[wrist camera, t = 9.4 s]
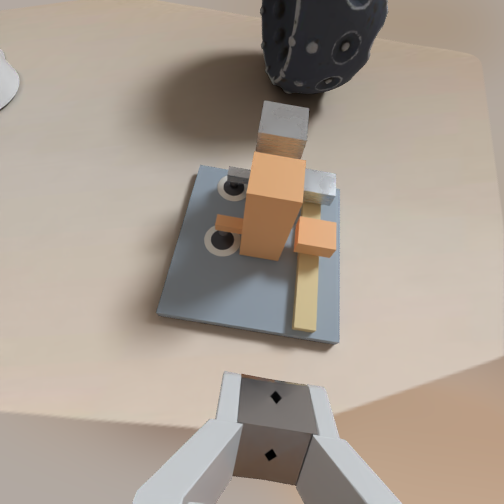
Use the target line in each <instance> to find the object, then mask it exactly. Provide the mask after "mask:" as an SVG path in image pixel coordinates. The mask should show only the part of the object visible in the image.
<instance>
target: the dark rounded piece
mask: <svg viewBox="0 0 504 504" xmlns="http://www.w3.org/2000/svg"><path fill="white" fill-rule="evenodd" d="M387 2H388V1H387V0H262V7H261V9H260V14H261V15H262V40H263V42H262V44H261V48H262V49H263V53H264V60H265V65H266V70H265V72H266V73H267V74H268V75H269V78H270V79H271V81H272V83H273V85H278V86H279V87H281V88H282V89H283V90H284V92H286V93H288V94H290V93H293V92H295V93H302V94H313V93H322V92H326V91H329V90H333V89H335V88H337V87H339V86H341V85H343V84H345V83H346V82H348V81H350V80H351V79H352V77H353V76H354V75H355V74H356V73H357V72H358V71H359V70H360V69H361V68H362V67H363V66H364V65H365V64H366V62H367V61H368V59H369V57H370V50H371V47H372V44H373V42H374V39H375V38H376V36H377V34H378V32H379V31H380V30H381V28H382V27H383V25H384V22H385V19H386V17H387V14H388V6H387Z"/></svg>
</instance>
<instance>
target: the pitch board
mask: <svg viewBox="0 0 504 504" xmlns="http://www.w3.org/2000/svg"><path fill="white" fill-rule="evenodd" d="M227 174H228V170H226V169H220V168H215V167H209V166H203V165H200V168H199V171H198V174H197V178H196V181H195V184H194V188H193V191H192V194H191V198H190V201H189V204H188V208H187V211H186V214H185V218H184V221H183V224H182V228H181V231H180V234H179V238H178V241H177V245H176V248H175V251H174V255H173V258H172V261H171V265H170V268H169V271H168V275H167V278H166V281H165V285H164V288H163V291H162V295H161V298H160V301H159V305H158V308H157V311H156V313H157V314H158V315H159V316H164V317H170V318H176V319H182V320H188V321H194V322H200V323H206V324H212V325H218V326H225V327H231V328H237V329H243V330H249V331H255V332H261V333H267V334H273V335H280V336H286V337H292V338H298V339H304V340H310V341H316V342H322V343H328V344H337V343H339V301H340V189H336V196H335V198H334V200H333V201H332V203H331V205H330V206H327V205H321V204H315V203H309V202H304V201H303V204H302V206H301V208H300V211H299V213H298V215H297V218H296V220H295V222H294V225H293V227H292V229H291V232H290V234H289V237H288V239H287V241H286V244H285V246H284V248H283V251H282V253H281V255H280V258H279V260H278V261H275V260H269V259H263V258H257V257H251V256H245V255H239V253H240V244H241V236H242V234H237V233H231V232H228V234H227V235H226V236H221V235H220V234H219V230H215V223H216V218H217V214H220V215H226V216H231V217H237V218H243V219H244V210H245V202H246V193H247V188H248V185H247V184H242V183H239V184H238V187H237V188H231V187H230V181H227ZM300 216H302V217H307V218H313V219H319V220H325V221H331V222H336V223H337V227H336V251H335V252H334V253H333V255H332V256H331V257H330V258H327V257H321V256H315V255H309V254H303V253H297V252H294V240H295V229H296V224H297V222H298V220H299V217H300Z"/></svg>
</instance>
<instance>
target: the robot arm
mask: <svg viewBox="0 0 504 504" xmlns="http://www.w3.org/2000/svg"><path fill="white" fill-rule="evenodd" d="M18 87H19V76H18V74H17V72H16V70H15V69H14V68H13V67H12V66H11V65H10V64H9V63H8V62H7V61H6V60H5V56H4V52H3V51H2V50H1V48H0V109H1V108H2V107H4V106H5V105H6V104H7V103H8V102H9V101H10V100H11V99H12V98H13V97H14V95H15V94H16V92H17V90H18ZM232 476H236V477H245V478H253V479H262V480H268V481H273V482H279V483H284V484H290V485H295V486H296V489H297V491H298V492H299V494H300V496H301V498H302V500H303V502H304V504H402V503H401V502H400V501H399V499H398V498H397V497H396V496H395V495H394V494H393V493H392V492H391V491H390V489H389V488H388V487H387V486H386V485H385V484H384V483H383V482H382V481H381V479H380V478H379V477H378V476H377V475H376V474H375V472H374V471H373V470H372V469H371V468H370V467H369V466H368V465H367V464H366V462H365V461H364V460H363V459H362V458H361V457H360V456H359V455H358V454H357V452H356V451H355V450H354V449H353V448H352V447H351V446H350V444H349V443H348V442H347V441H346V440H343V439H340V438H339V434H338V431H337V427H336V423H335V420H334V416H333V413H332V409H331V406H330V402H329V399H328V395H327V392H326V389H325V388H324V387H321V386H314V385H305V384H298V383H292V382H285V381H278V380H272V379H266V378H261V377H255V376H250V375H245V374H237V373H232V372H227V371H224V374H223V378H222V384H221V390H220V395H219V401H218V407H217V412H216V418H215V419H209V420H208V421H207V422H206V423H205V424H204V425H203V426H202V427H201V428H200V429H199V430H198V431H197V432H196V433H195V434H194V435H193V436H192V437H191V438H190V439H189V440H188V441H187V442H186V443H185V444H184V445H183V446H182V447H181V448H180V449H179V450H178V451H177V452H176V453H175V454H174V455H173V456H172V457H171V458H170V459H169V460H168V461H167V462H166V463H165V464H164V465H163V466H162V467H161V468H160V469H159V470H158V471H157V472H156V473H155V474H154V475H153V476H152V477H151V478H150V479H148V481H146V483H144V484H143V485H142V487H140V488H139V489H138V490H137V492H136V495H135V497H134V500H133V502H132V504H216V502H217V501H218V499H219V497H220V496H221V494H222V493H223V491H224V490H225V488H226V487H227V485H228V483H229V482H230V481H231V479H232Z"/></svg>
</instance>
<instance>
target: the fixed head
mask: <svg viewBox="0 0 504 504" xmlns="http://www.w3.org/2000/svg"><path fill="white" fill-rule="evenodd" d="M308 118H309V108H304V107H299V106H293V105H287V104H282V103H276V102H271V101H265V100H264V104H263V109H262V115H261V120H260V125H259V131H258V137H257V145H256V152H260V153H266V154H272V155H277V156H283V157H289V158H294V159H301V156H302V153H303V150H304V147H305V144H306V141H307V131H308ZM250 172H251V170H248V169H242V168H236V167H230V166H229V170H228V174H227V181H230V187H231V188H237V187H238V184H239V183H242V184H247V185H248V182H249V177H250ZM335 196H336V174H334V173H328V172H323V171H317V170H311V169H306V168H305V181H304V194H303V201H304V202H309V203H315V204H321V205H327V206H330V205H331V203H332V201H333V200H334V198H335Z"/></svg>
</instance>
